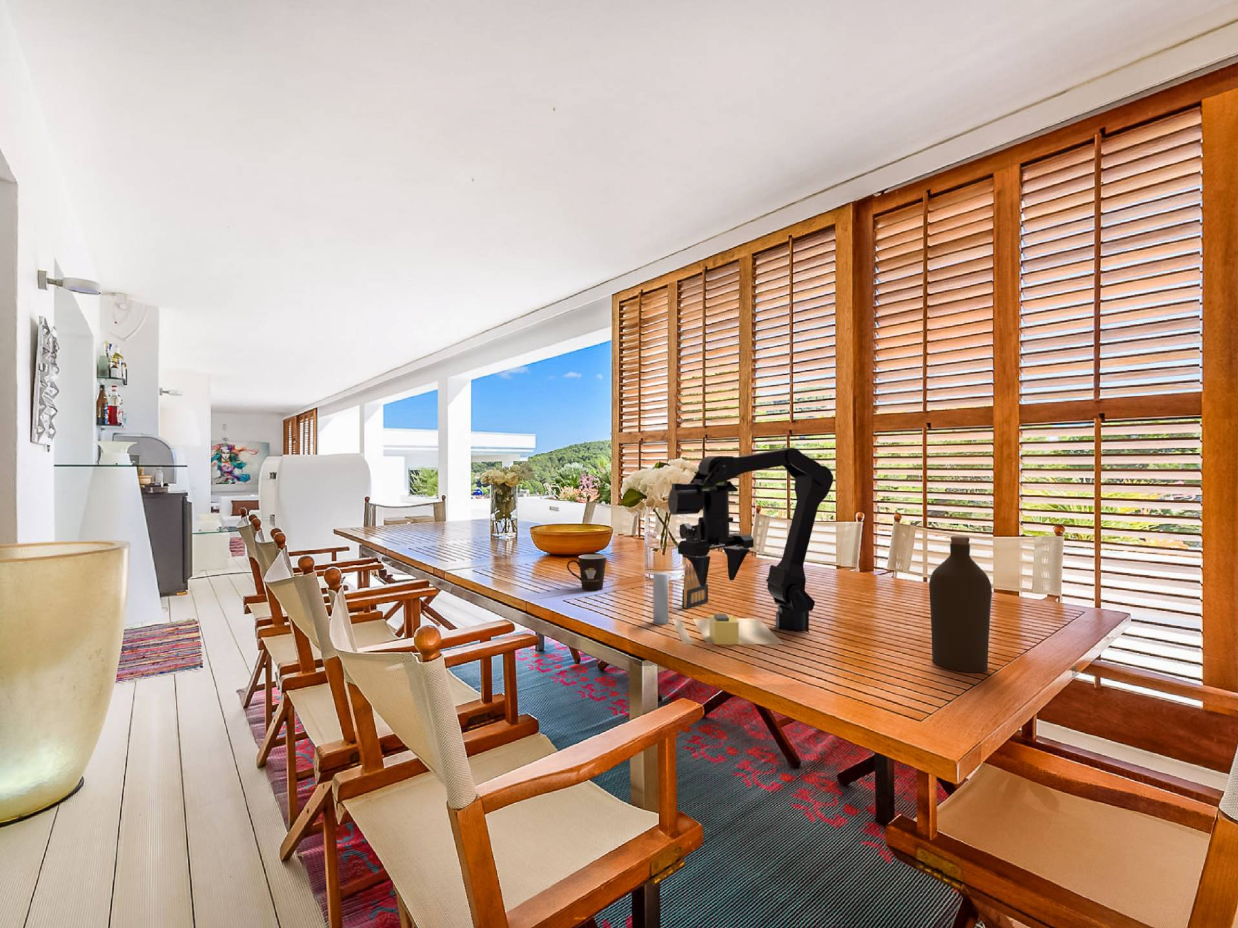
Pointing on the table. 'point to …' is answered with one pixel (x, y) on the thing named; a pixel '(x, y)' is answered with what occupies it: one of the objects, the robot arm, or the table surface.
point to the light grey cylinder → (661, 598)
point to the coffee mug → (590, 571)
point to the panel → (748, 632)
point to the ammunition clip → (693, 589)
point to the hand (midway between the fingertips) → (717, 583)
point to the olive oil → (960, 611)
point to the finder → (724, 629)
